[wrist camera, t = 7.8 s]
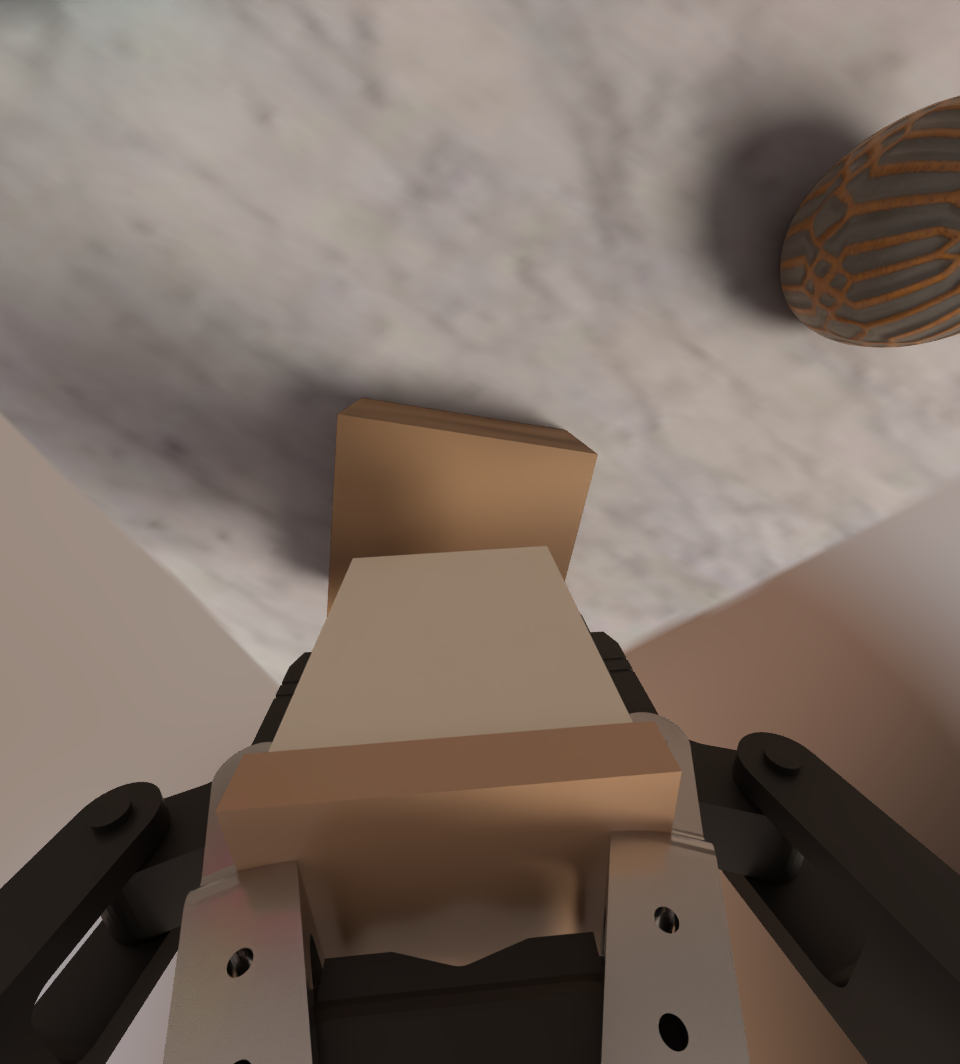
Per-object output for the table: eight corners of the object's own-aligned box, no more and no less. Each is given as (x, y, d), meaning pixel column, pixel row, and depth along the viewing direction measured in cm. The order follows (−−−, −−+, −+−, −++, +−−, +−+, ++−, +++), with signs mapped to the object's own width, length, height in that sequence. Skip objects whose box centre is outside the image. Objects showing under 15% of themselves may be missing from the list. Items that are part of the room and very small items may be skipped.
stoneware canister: (343, 551, 12) (214, 812, 5) (554, 538, 12) (681, 771, 6) (371, 716, 14) (303, 1052, 7) (551, 702, 14) (640, 1014, 8)
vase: (776, 377, 21) (988, 401, 13) (725, 217, 18) (948, 120, 10) (932, 287, 20) (1273, 251, 12) (900, 105, 17) (1305, -104, 9)
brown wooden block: (362, 397, 20) (337, 414, 15) (564, 429, 21) (597, 454, 17) (349, 581, 23) (325, 641, 19) (525, 601, 24) (543, 662, 20)
